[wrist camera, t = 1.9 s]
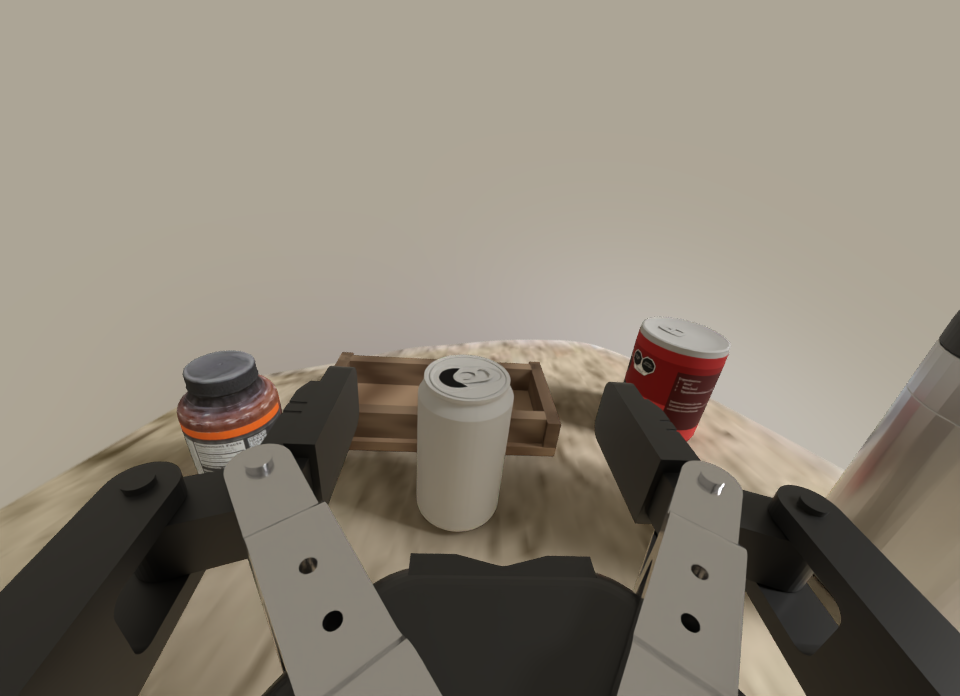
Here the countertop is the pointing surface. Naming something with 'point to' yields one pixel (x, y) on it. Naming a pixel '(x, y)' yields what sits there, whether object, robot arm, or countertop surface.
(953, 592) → the robot arm
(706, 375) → the canned food
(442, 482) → the beverage can
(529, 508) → the countertop surface
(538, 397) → the wooden tray
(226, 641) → the countertop surface
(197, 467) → the supplement bottle
